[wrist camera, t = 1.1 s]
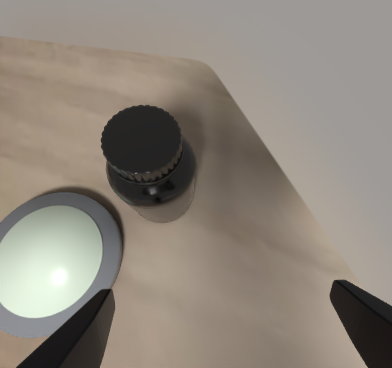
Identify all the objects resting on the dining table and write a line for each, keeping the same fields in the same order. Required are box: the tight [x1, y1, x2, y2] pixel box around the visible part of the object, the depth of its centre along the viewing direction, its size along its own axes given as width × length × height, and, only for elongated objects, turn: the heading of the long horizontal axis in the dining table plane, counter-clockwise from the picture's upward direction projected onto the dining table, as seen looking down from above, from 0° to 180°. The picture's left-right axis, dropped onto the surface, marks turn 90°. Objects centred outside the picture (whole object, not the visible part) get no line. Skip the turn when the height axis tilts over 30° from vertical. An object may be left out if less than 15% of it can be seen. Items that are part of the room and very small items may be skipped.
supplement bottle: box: [101, 105, 196, 223], centre depth 18 cm, size 7×7×12 cm
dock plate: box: [0, 192, 123, 338], centre depth 20 cm, size 13×13×1 cm
